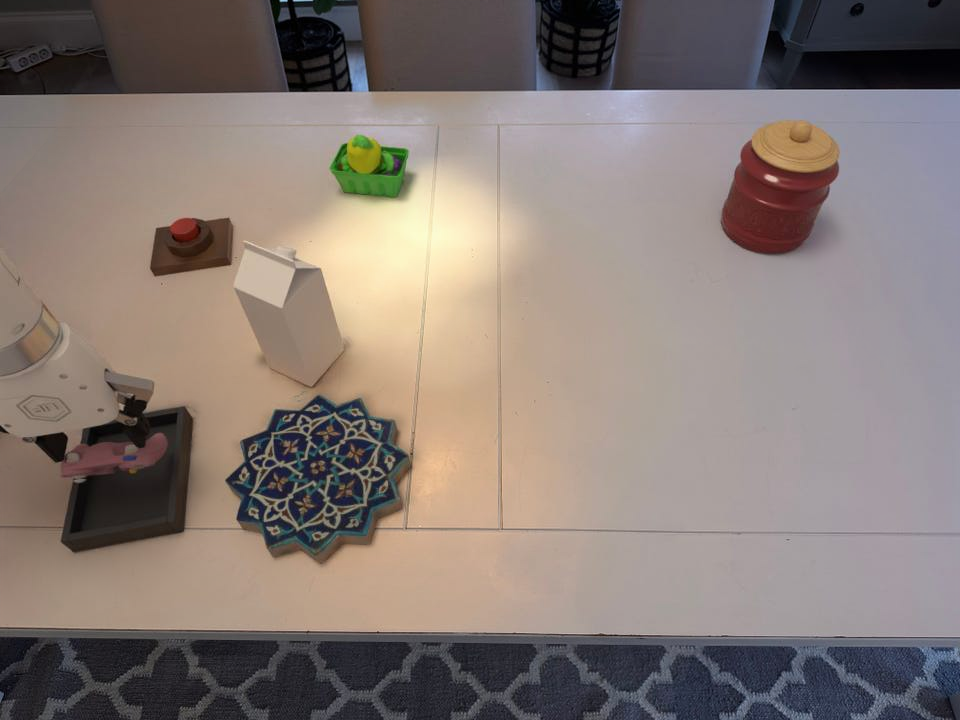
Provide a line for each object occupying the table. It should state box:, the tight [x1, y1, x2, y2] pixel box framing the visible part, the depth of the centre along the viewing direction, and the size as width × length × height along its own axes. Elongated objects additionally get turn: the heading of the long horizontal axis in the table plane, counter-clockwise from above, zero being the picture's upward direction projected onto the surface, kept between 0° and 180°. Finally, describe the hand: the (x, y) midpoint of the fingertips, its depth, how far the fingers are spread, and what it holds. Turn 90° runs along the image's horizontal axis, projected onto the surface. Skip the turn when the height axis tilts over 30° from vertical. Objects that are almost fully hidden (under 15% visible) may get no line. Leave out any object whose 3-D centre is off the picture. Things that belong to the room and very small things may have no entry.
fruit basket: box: [328, 134, 410, 198], centre depth 106 cm, size 11×9×11 cm
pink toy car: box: [60, 433, 168, 483], centre depth 73 cm, size 10×5×7 cm, turn 99°
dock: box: [60, 405, 194, 553], centre depth 76 cm, size 12×15×3 cm
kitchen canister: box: [721, 119, 841, 255], centre depth 95 cm, size 13×13×18 cm
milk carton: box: [232, 240, 345, 388], centre depth 81 cm, size 7×7×19 cm
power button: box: [170, 217, 200, 243], centre depth 99 cm, size 4×4×2 cm
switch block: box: [149, 217, 233, 277], centre depth 100 cm, size 11×9×4 cm
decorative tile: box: [225, 393, 412, 565], centre depth 76 cm, size 20×20×2 cm
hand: (102, 442), depth 71 cm, fingers closed on pink toy car, 7 cm apart
